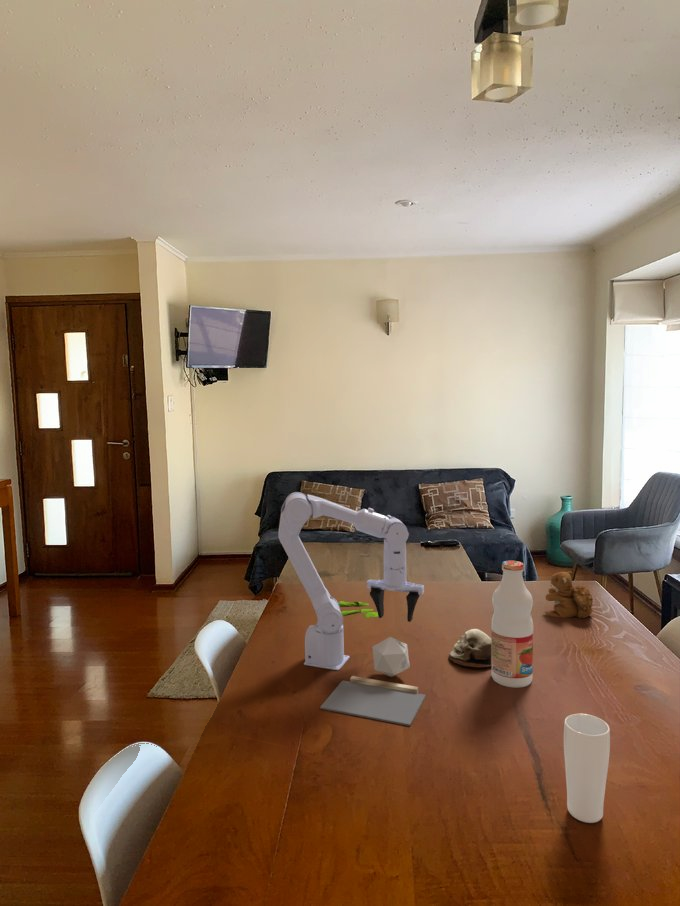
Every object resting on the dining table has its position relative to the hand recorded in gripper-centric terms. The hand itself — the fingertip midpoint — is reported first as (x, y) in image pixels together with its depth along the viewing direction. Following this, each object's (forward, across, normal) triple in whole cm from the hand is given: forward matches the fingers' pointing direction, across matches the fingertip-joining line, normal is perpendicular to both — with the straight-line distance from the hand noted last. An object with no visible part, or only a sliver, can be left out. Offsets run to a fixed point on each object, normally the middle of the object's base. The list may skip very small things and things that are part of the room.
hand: (395, 618), depth 154 cm
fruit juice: (+11, +29, -2) cm, 31 cm away
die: (+11, +2, -10) cm, 15 cm away
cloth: (+11, -24, +29) cm, 39 cm away
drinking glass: (+11, +45, -45) cm, 65 cm away
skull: (+12, +19, +2) cm, 23 cm away
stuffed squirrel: (+11, +41, +46) cm, 62 cm away
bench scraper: (+10, +2, -23) cm, 26 cm away
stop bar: (+10, +2, -16) cm, 19 cm away
